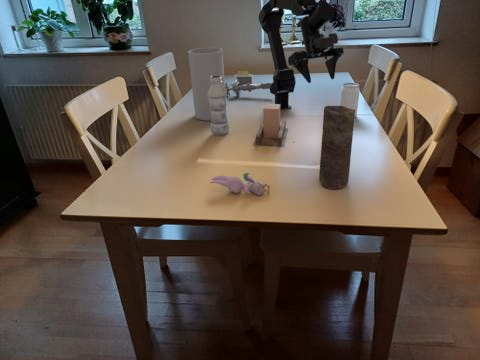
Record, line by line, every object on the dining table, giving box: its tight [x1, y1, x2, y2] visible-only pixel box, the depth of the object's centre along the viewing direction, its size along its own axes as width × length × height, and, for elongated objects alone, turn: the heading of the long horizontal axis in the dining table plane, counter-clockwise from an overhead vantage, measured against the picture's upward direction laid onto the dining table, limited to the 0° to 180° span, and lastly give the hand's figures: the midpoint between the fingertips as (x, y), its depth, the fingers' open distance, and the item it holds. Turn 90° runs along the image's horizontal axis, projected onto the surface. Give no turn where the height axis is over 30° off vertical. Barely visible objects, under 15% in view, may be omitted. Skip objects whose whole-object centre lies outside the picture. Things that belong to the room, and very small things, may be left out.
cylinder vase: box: [188, 47, 226, 122], centre depth 135 cm, size 12×12×25 cm
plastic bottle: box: [208, 76, 230, 137], centre depth 118 cm, size 6×7×20 cm
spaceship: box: [224, 79, 273, 98], centre depth 162 cm, size 8×35×8 cm
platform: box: [234, 70, 254, 85], centre depth 183 cm, size 12×18×7 cm, turn 78°
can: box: [339, 82, 361, 118], centre depth 131 cm, size 6×6×12 cm
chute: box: [252, 119, 289, 148], centre depth 117 cm, size 16×10×4 cm, turn 168°
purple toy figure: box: [209, 172, 271, 197], centre depth 88 cm, size 6×6×15 cm
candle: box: [318, 105, 356, 190], centre depth 86 cm, size 8×7×20 cm
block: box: [262, 103, 281, 138], centre depth 116 cm, size 5×5×10 cm
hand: (321, 80), depth 118 cm, fingers open, 9 cm apart
